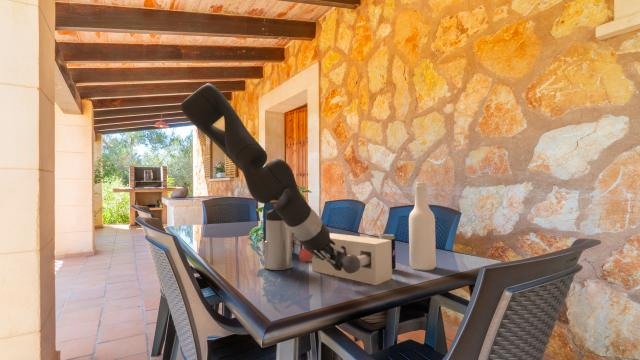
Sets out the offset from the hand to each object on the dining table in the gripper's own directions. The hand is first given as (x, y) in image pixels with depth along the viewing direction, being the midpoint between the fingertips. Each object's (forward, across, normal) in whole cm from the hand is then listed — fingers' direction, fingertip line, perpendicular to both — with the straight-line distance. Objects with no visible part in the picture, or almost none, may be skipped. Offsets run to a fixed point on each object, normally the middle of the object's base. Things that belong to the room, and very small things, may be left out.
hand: (340, 267), depth 94 cm
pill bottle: (+22, -35, +12) cm, 43 cm away
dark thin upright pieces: (+21, -53, +11) cm, 58 cm away
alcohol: (+33, +4, +23) cm, 41 cm away
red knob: (+8, -19, +5) cm, 21 cm away
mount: (+17, -10, +7) cm, 20 cm away
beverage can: (+26, -3, +16) cm, 31 cm away
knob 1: (+12, -10, +9) cm, 17 cm away
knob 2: (+8, 0, +4) cm, 9 cm away
